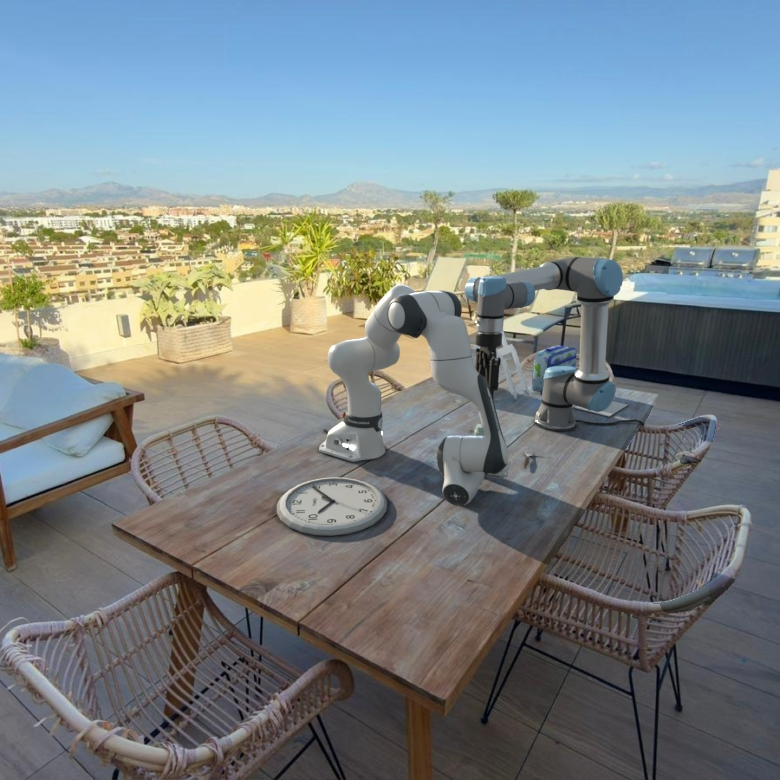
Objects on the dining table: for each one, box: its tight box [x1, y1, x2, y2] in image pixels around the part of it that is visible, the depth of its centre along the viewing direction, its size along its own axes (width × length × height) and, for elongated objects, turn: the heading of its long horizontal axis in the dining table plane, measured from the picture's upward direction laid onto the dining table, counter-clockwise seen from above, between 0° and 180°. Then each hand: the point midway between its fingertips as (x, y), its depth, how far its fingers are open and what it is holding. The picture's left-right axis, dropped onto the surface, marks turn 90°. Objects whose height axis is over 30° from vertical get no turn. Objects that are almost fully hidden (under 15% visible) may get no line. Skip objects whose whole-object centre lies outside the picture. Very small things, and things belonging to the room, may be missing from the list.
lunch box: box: [531, 345, 577, 393], centre depth 245 cm, size 26×11×21 cm, turn 134°
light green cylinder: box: [473, 423, 484, 436], centre depth 161 cm, size 4×4×16 cm
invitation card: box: [573, 400, 629, 418], centre depth 226 cm, size 21×1×15 cm
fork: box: [524, 445, 535, 469], centre depth 172 cm, size 3×16×2 cm, turn 160°
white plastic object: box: [471, 330, 531, 400], centre depth 245 cm, size 37×45×31 cm
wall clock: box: [276, 476, 388, 537], centre depth 142 cm, size 30×2×30 cm
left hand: (480, 452), depth 162 cm, fingers closed on light green cylinder, 4 cm apart
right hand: (484, 407), depth 157 cm, fingers closed on lid, 5 cm apart
